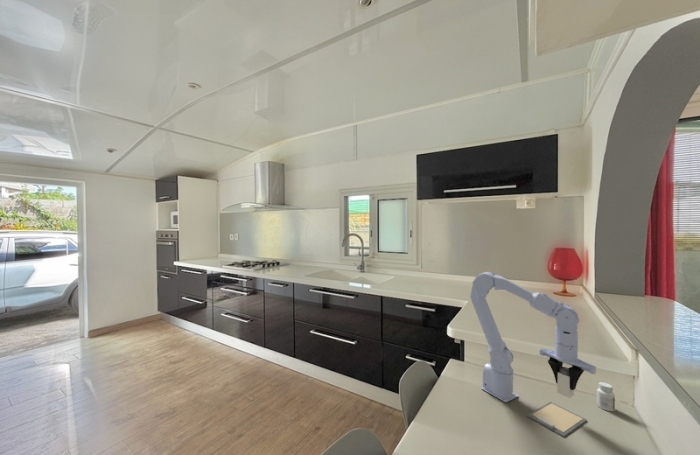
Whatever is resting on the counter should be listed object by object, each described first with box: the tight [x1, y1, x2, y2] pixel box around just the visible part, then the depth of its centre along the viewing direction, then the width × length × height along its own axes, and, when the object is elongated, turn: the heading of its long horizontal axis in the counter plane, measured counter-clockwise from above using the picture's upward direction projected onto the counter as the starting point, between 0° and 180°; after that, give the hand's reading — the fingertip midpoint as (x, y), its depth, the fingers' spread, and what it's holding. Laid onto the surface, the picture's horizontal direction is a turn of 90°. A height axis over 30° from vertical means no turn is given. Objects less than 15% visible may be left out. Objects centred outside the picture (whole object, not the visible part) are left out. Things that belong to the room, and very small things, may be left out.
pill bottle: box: [596, 381, 616, 412], centre depth 91 cm, size 4×4×8 cm
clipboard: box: [526, 401, 588, 438], centre depth 85 cm, size 10×15×1 cm, turn 119°
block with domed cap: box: [556, 366, 575, 399], centre depth 86 cm, size 3×3×8 cm
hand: (565, 385), depth 86 cm, fingers closed on block with domed cap, 3 cm apart
